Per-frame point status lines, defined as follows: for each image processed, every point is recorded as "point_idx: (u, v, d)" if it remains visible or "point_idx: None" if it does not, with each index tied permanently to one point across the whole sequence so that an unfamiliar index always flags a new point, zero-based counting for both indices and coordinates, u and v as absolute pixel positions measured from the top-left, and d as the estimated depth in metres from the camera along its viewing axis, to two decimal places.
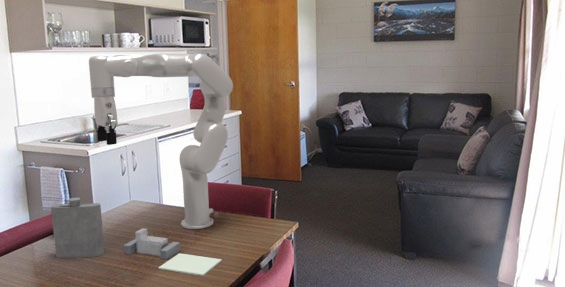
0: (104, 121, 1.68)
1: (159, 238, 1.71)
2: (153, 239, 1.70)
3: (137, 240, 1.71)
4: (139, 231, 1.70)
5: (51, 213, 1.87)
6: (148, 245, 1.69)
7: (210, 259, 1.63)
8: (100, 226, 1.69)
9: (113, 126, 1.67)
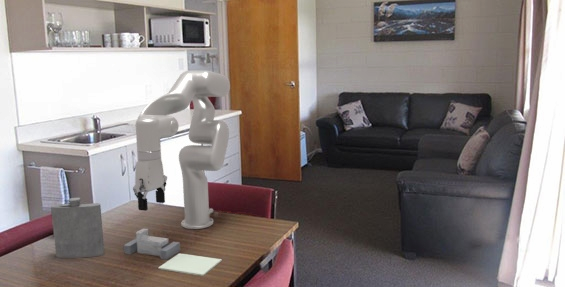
0: (163, 180, 1.70)
1: (160, 238, 1.70)
2: (154, 239, 1.70)
3: (138, 240, 1.70)
4: (139, 231, 1.70)
5: (51, 213, 1.87)
6: (149, 245, 1.69)
7: (210, 259, 1.63)
8: (100, 226, 1.69)
9: None
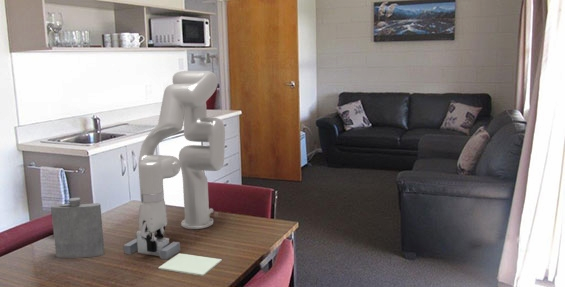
0: (166, 219, 1.73)
1: (160, 238, 1.70)
2: (155, 239, 1.69)
3: (138, 240, 1.70)
4: None
5: (51, 213, 1.87)
6: None
7: (210, 259, 1.63)
8: (100, 226, 1.69)
9: None
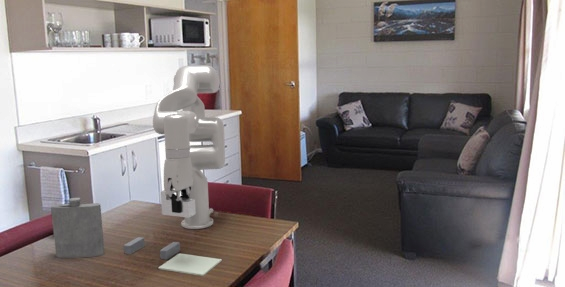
0: (192, 179, 1.62)
1: (186, 199, 1.59)
2: (180, 199, 1.58)
3: (162, 200, 1.59)
4: (164, 191, 1.59)
5: (51, 213, 1.87)
6: None
7: (210, 259, 1.63)
8: (100, 226, 1.69)
9: None
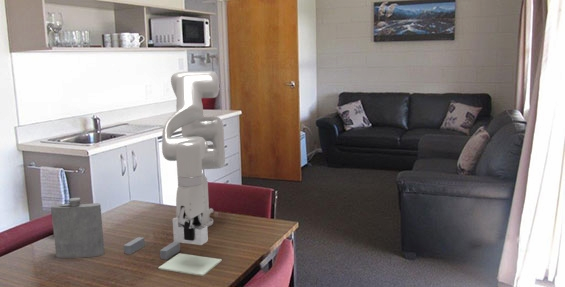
0: None
1: (198, 226, 1.58)
2: (192, 227, 1.57)
3: (174, 227, 1.58)
4: (176, 218, 1.58)
5: (51, 213, 1.87)
6: None
7: (210, 259, 1.63)
8: (100, 226, 1.69)
9: None
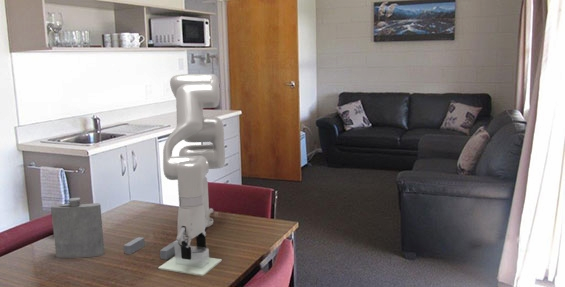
0: None
1: (199, 248, 1.59)
2: (194, 249, 1.58)
3: (176, 250, 1.59)
4: None
5: (51, 213, 1.87)
6: None
7: (210, 259, 1.63)
8: (100, 226, 1.69)
9: None
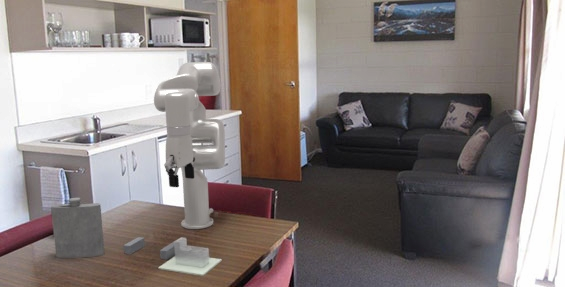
0: None
1: (199, 248, 1.59)
2: (194, 249, 1.58)
3: (176, 250, 1.59)
4: (178, 241, 1.59)
5: (51, 213, 1.87)
6: (188, 255, 1.58)
7: (210, 259, 1.63)
8: (100, 226, 1.69)
9: None
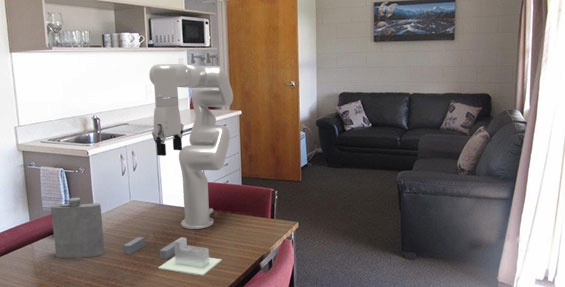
0: (180, 127, 1.74)
1: (199, 248, 1.59)
2: (194, 249, 1.58)
3: (176, 250, 1.59)
4: (178, 241, 1.59)
5: (51, 213, 1.87)
6: (188, 255, 1.58)
7: (210, 259, 1.63)
8: (100, 226, 1.69)
9: None
